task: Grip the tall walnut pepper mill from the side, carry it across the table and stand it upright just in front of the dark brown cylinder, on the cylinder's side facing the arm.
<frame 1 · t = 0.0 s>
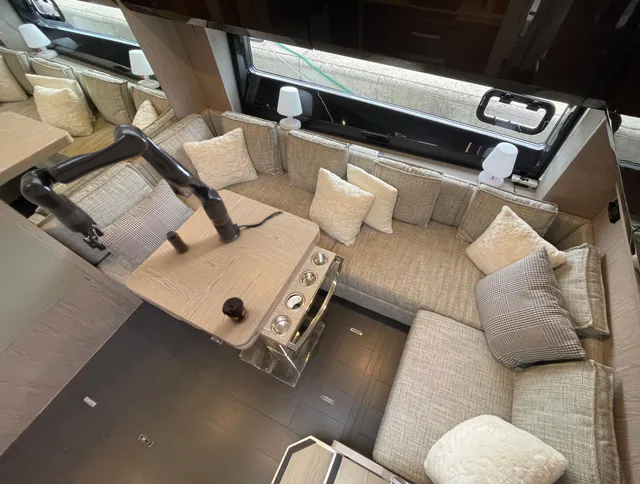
hand: (102, 242, 117), 29 cm above the table, tool pointing down, fingers open, 8 cm apart
pepper mill: (182, 248, 150), on the table
dark brown cylinder: (239, 316, 128), on the table
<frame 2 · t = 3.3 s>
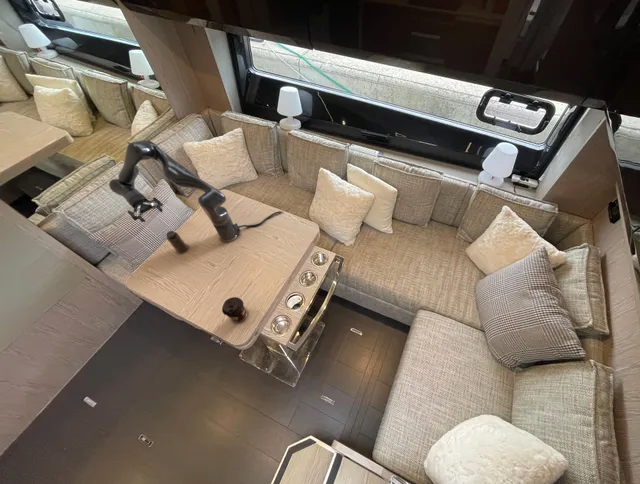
hand: (152, 215, 139), 20 cm above the table, tool horizontal, fingers open, 8 cm apart
nothing on the table moved.
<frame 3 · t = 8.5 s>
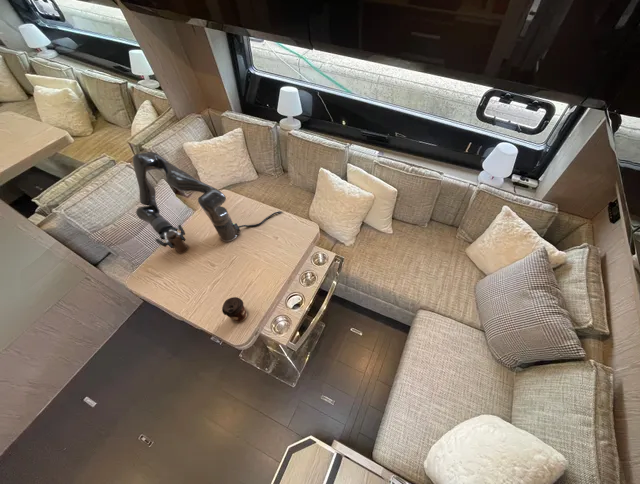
hand: (178, 243, 143), 8 cm above the table, tool horizontal, fingers closed on pepper mill, 5 cm apart
pepper mill: (182, 248, 150), on the table, touching gripper
everything else where it was.
when the fingers open (7 cm above the table, at t = 22.4 s): pepper mill stays where it is, on the table.
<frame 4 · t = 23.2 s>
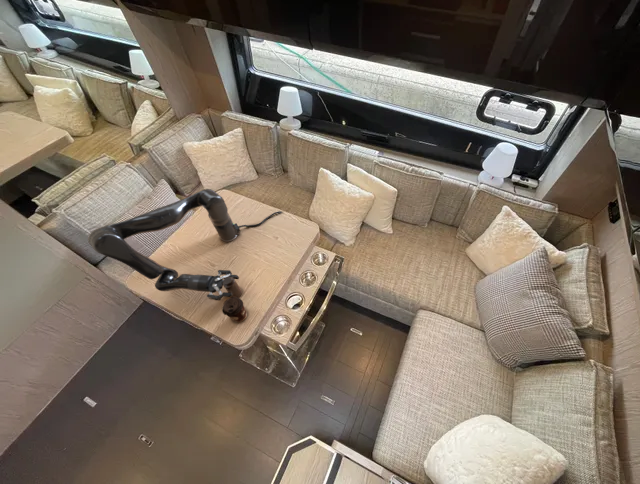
hand: (235, 285, 129), 8 cm above the table, tool horizontal, fingers open, 8 cm apart
pepper mill: (236, 293, 135), on the table
everything else where it was.
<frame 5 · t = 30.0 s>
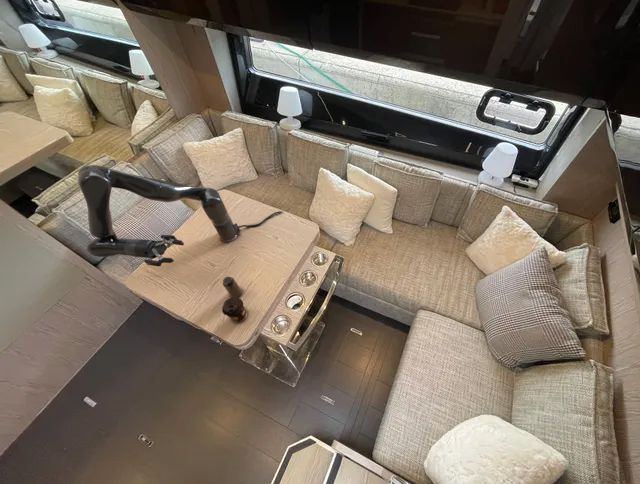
hand: (178, 251, 117), 28 cm above the table, tool horizontal, fingers open, 8 cm apart
nothing on the table moved.
at the end: pepper mill inside the target area on the table beside the dark brown cylinder (0.2 cm from its centre), on the table; pepper mill tilted 0°; the gripper is holding nothing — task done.
